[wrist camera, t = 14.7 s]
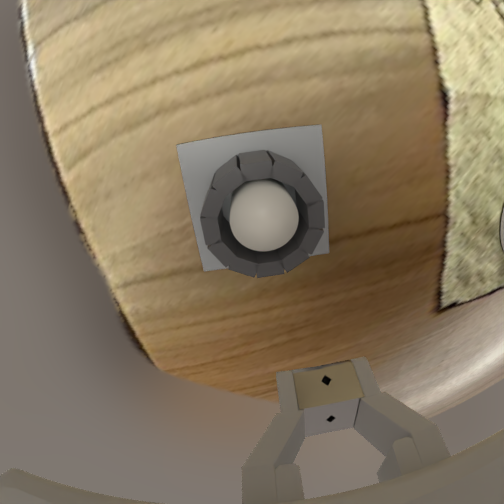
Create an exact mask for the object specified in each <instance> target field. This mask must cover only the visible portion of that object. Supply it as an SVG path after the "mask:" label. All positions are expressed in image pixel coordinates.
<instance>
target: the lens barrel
mask: <svg viewBox="0 0 504 504" xmlns="http://www.w3.org/2000/svg"><path fill="white" fill-rule="evenodd" d="M176 146H177V151H178V156H179V161H180V166H181V171H182V176H183V181H184V186H185V191H186V195H187V200H188V204H189V209H190V214H191V218H192V222H193V227H194V231H195V236H196V240H197V244H198V248H199V253H200V257H201V261H202V265H203V269H204V271H211V270H218V269H225V268H229V270H232V271H235V272H238V273H241V274H245V275H248V276H251V277H255V275H256V273H257V278H260V277H266V276H273V275H280V274H284V269H285V270H286V272H287V273H288V272H289V271H290V270H292V269H293V268H295V267H296V266H298V265H299V264H301V263H302V262H304V261H305V260H306V259H308V258H309V256H313V255H319V254H326V253H329V231H328V207H327V189H326V173H325V160H324V148H323V136H322V126H321V125H308V126H297V127H287V128H278V129H269V130H261V131H254V132H246V133H239V134H233V135H226V136H220V137H214V138H209V139H203V140H198V141H192V142H187V143H182V144H177V145H176ZM266 178H273V179H275V180H278V181H280V182H282V183H283V184H284V186H285V187H286V189H287V191H288V192H289V194H290V196H291V198H292V199H293V201H294V203H295V205H296V207H297V210H298V216H299V221H298V226H297V229H296V232H295V234H294V235H293V237H292V238H291V239H290V240H289V241H288V242H287V243H286V244H285V245H283V246H282V247H280V248H277V249H275V250H271V251H255V250H252V249H249V248H247V247H245V246H244V245H242V244H241V243H240V242H239V241H238V240H237V239H236V238H235V236H234V235H233V233H232V230H231V227H230V205H231V196H232V192H233V191H234V190H235V189H236V188H238V187H239V186H240V185H241V184H243V183H244V182H245V181H251V180H258V179H266Z"/></svg>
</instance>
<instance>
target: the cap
mask: <svg viewBox="0 0 504 504" xmlns="http://www.w3.org/2000/svg"><path fill="white" fill-rule="evenodd" d="M298 221H299V216H298V210H297V207H296V205H295V203H294V201H293V199H292V198H291V196H290V194H289V192H288V191H287V189H286V187H285V186H284V184H283V183H282V182H280V181H278V180H275V179H273V178H266V179H258V180H251V181H245V182H244V183H243V184H241V185H240V186H239V187H238V188H236V189H235V190H234V191H233V192H232V196H231V205H230V227H231V230H232V233H233V235H234V236H235V238H236V239H237V240H238V241H239V242H240V243H241V244H242V245H244V246H245V247H247V248H249V249H252V250H255V251H271V250H275V249H277V248H280V247H282V246H283V245H285V244H286V243H287V242H288V241H289V240H290V239H291V238H292V237H293V235H294V234H295V232H296V229H297V226H298Z"/></svg>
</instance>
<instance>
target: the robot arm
mask: <svg viewBox="0 0 504 504" xmlns="http://www.w3.org/2000/svg"><path fill="white" fill-rule="evenodd" d="M501 243H502V247H503V250H504V209H503V214H502V220H501ZM276 378H277V386H278V394H279V402H280V409H281V413H277V414H276V415H275V417H274V418H273V420H272V422H271V423H270V425H269V426H268V428H267V430H266V431H265V433H264V434H263V436H262V437H261V439H260V440H259V442H258V444H257V445H256V447H255V448H254V450H253V451H252V453H251V454H250V456H249V457H248V459H247V460H246V462H245V463H244V465H243V466H242V504H504V429H502V430H500V431H499V432H497V433H495V434H494V435H492V436H490V437H488V438H486V439H484V440H483V441H481V442H479V443H477V444H475V445H473V446H471V447H469V448H467V449H465V450H463V451H461V452H459V453H457V454H455V455H453V456H450V453H449V451H448V449H447V447H446V444H445V442H444V440H443V437H442V435H441V433H440V430H439V428H438V426H437V425H436V424H435V423H433V422H431V421H430V420H428V419H427V418H425V417H423V416H422V415H420V414H419V413H417V412H416V411H414V410H412V409H411V408H409V407H408V406H406V405H405V404H403V403H401V402H400V401H398V400H397V399H395V398H394V397H392V396H391V395H389V394H388V393H386V392H383V393H381V391H380V389H379V386H378V384H377V382H376V379H375V377H374V374H373V372H372V370H371V367H370V365H369V363H368V360H367V358H366V357H360V358H356V359H351V360H345V361H340V362H336V363H331V364H326V365H321V366H317V367H310V368H303V369H296V370H289V371H281V372H276ZM353 427H354V429H355V430H356V431H357V432H358V433H359V434H361V435H362V436H363V437H364V438H365V439H366V440H367V441H368V442H370V443H371V444H372V445H373V446H374V447H375V448H376V449H378V450H379V451H380V452H381V453H382V454H383V455H384V456H386V458H385V460H384V461H383V463H382V465H381V467H380V468H379V470H378V472H377V475H378V479H379V483H377V484H373V485H370V486H366V487H363V488H359V489H355V490H350V491H346V492H342V493H337V494H333V495H328V496H322V497H317V498H311V499H304V493H303V486H302V480H301V473H300V467H299V466H298V465H296V464H294V463H293V462H294V460H295V458H296V456H297V454H298V452H299V450H300V447H301V445H302V443H303V441H304V439H305V437H307V436H312V435H317V434H322V433H327V432H332V431H337V430H342V429H348V428H353ZM0 504H163V503H154V502H146V501H138V500H132V499H125V498H120V497H114V496H109V495H104V494H99V493H95V492H91V491H86V490H82V489H78V488H75V487H71V486H68V485H64V484H61V483H57V482H54V481H51V480H48V479H45V478H42V477H39V476H36V475H33V474H30V473H28V472H25V471H23V470H20V469H16V468H11V469H9V470H7V471H6V472H4V473H3V474H2V475H1V476H0Z"/></svg>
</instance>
